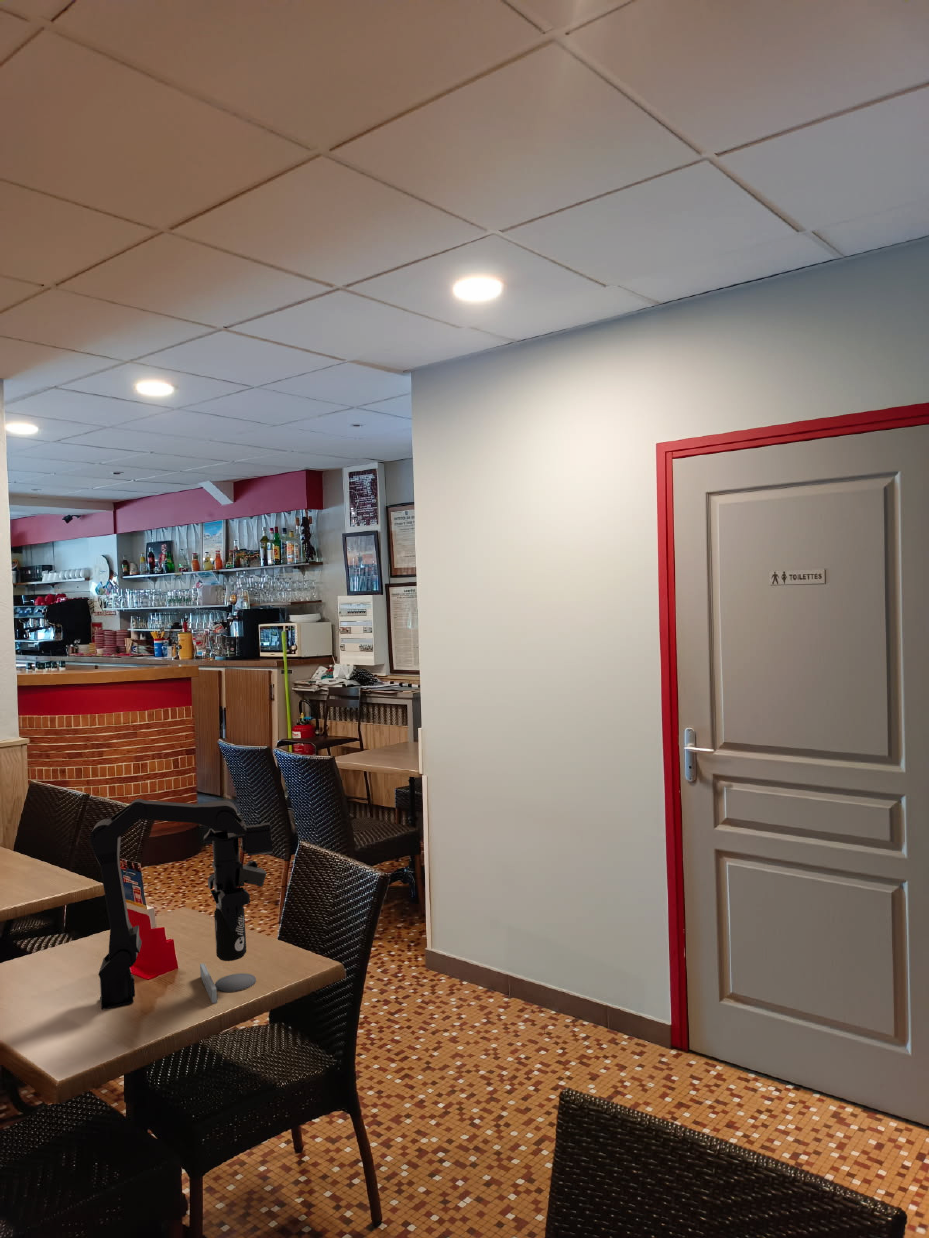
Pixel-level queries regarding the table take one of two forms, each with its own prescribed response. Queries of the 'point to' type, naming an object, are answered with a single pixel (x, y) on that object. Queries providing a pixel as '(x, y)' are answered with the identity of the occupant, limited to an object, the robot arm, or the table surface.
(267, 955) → the table surface
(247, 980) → the coaster mat
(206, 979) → the low wall
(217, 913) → the beverage can
